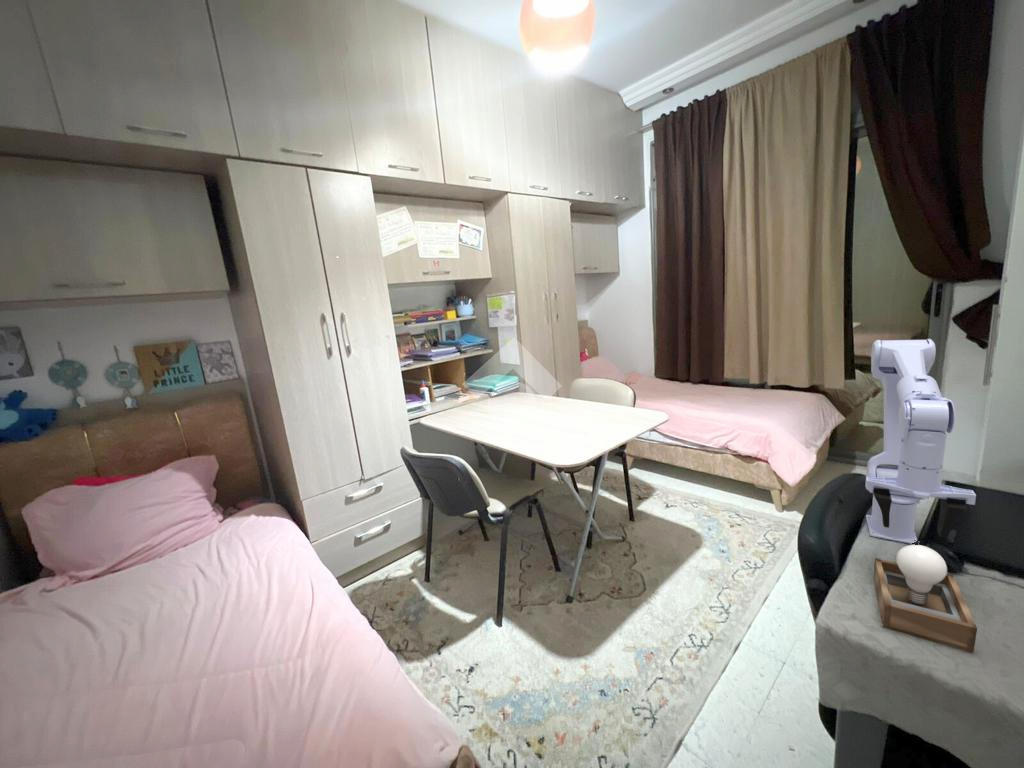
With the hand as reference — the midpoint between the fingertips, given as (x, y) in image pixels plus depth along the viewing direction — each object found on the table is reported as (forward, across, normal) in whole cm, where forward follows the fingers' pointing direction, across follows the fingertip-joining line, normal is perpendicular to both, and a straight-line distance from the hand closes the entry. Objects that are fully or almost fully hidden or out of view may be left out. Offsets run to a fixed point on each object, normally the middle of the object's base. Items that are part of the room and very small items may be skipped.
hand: (912, 529), depth 79 cm
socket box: (+10, 0, -10) cm, 14 cm away
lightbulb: (+10, 0, -8) cm, 13 cm away
